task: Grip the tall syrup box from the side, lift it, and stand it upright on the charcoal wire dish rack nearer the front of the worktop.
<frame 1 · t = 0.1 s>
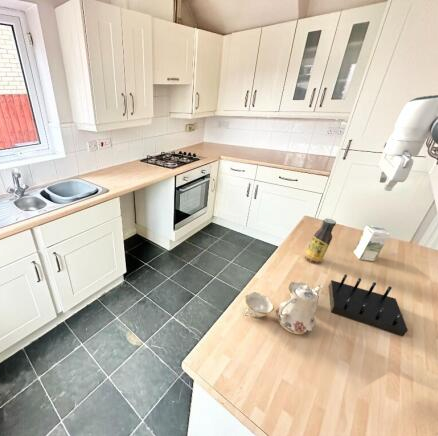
hand: (384, 186, 90), 33 cm above the counter, tool pointing down, fingers open, 8 cm apart
chinaware: (285, 316, 80), on the counter
dish rack: (361, 308, 82), on the counter
syrup box: (363, 257, 106), on the counter
sauce bottle: (312, 260, 105), on the counter
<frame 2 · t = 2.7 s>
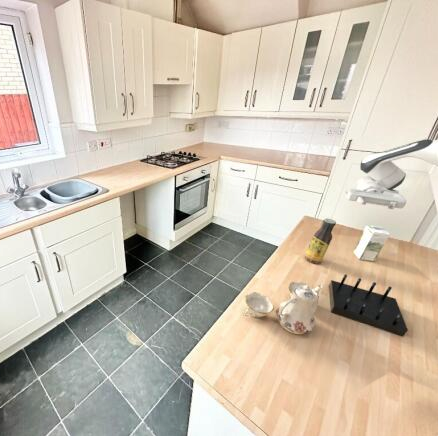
hand: (377, 205, 105), 20 cm above the counter, tool horizontal, fingers open, 8 cm apart
nothing on the counter moved.
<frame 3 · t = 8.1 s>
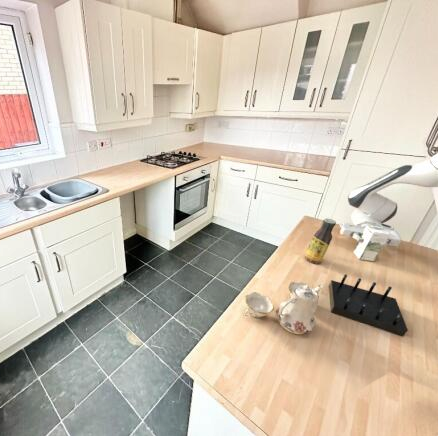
hand: (371, 243, 101), 8 cm above the counter, tool horizontal, fingers closed on syrup box, 6 cm apart
syrup box: (363, 257, 106), on the counter, touching gripper
everything else where it was.
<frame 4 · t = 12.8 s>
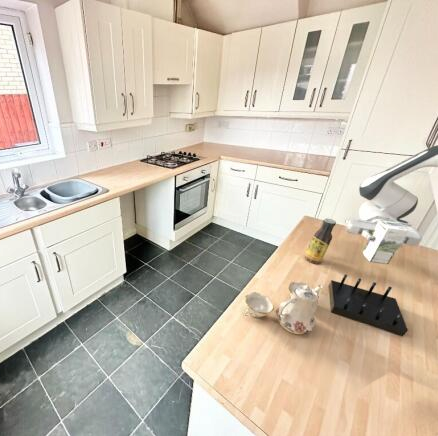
hand: (385, 242, 83), 19 cm above the counter, tool horizontal, fingers closed on syrup box, 6 cm apart
syrup box: (374, 259, 88), point 11 cm above the counter, touching gripper
everything else where it was.
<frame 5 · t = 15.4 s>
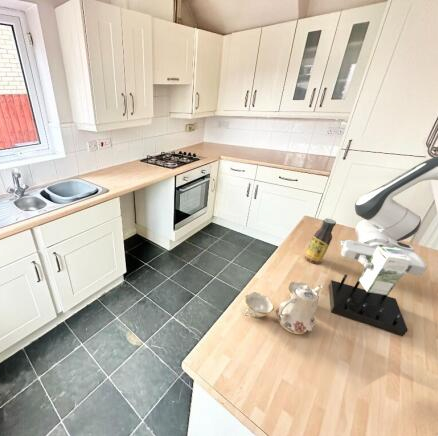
hand: (384, 270, 73), 17 cm above the counter, tool horizontal, fingers closed on syrup box, 6 cm apart
syrup box: (372, 288, 78), point 9 cm above the counter, touching gripper
everything else where it was.
when the fingers open (11 cm above the counter, at t = 17.7 s): syrup box stays where it is, resting on dish rack.
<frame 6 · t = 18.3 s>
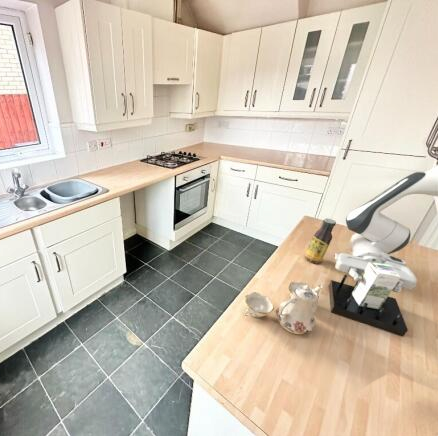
hand: (377, 285, 76), 11 cm above the counter, tool horizontal, fingers open, 8 cm apart
syrup box: (364, 302, 81), point 3 cm above the counter, touching dish rack
everything else where it was.
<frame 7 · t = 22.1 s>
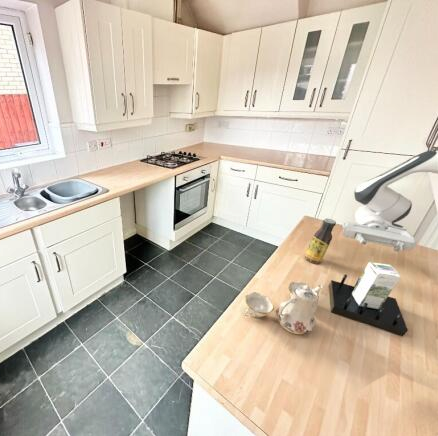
hand: (380, 246, 85), 17 cm above the counter, tool horizontal, fingers open, 8 cm apart
nothing on the counter moved.
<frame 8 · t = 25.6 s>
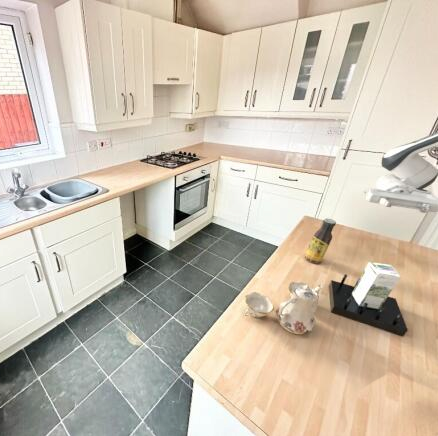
hand: (406, 207, 86), 28 cm above the counter, tool horizontal, fingers open, 8 cm apart
nothing on the counter moved.
at the end: syrup box inside the target area on the dish rack (0.1 cm from its centre), point 2.8 cm above the dish rack's base; syrup box tilted 0°; the gripper is holding nothing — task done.
